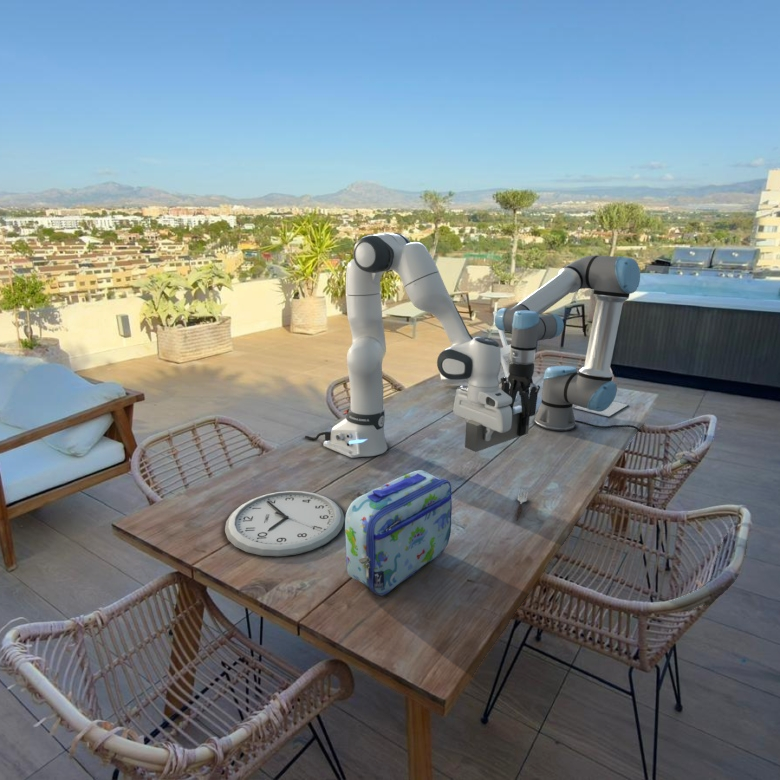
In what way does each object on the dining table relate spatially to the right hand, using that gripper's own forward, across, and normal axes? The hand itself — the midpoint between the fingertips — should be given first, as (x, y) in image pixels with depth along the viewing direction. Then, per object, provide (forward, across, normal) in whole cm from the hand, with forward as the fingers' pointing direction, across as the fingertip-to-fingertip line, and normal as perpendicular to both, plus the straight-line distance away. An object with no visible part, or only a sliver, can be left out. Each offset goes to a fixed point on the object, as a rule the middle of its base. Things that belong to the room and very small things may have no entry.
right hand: (515, 432), depth 167 cm
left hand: (-3, 0, -17) cm, 17 cm away
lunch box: (+11, +21, -64) cm, 68 cm away
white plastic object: (+11, -59, +48) cm, 77 cm away
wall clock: (+11, -12, -76) cm, 77 cm away
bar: (+1, 0, -8) cm, 9 cm away
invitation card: (+11, -14, +76) cm, 78 cm away
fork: (+11, +20, -21) cm, 31 cm away
